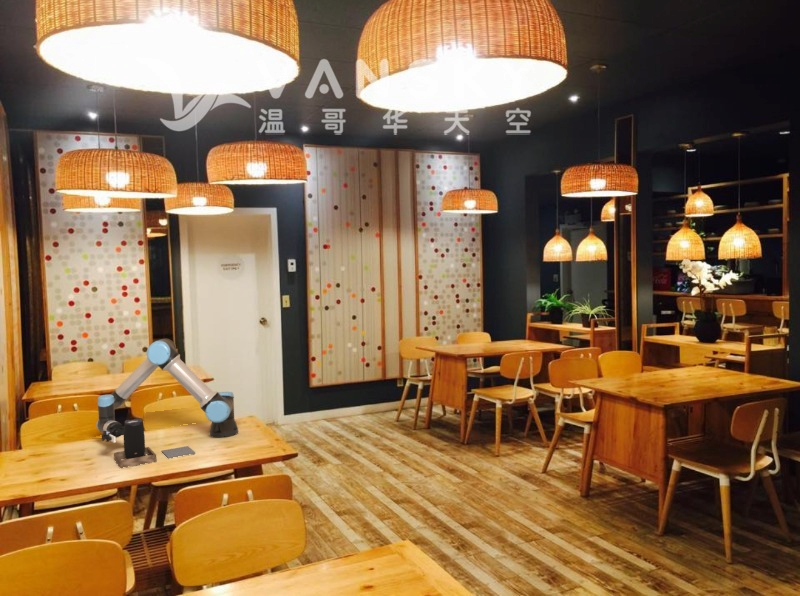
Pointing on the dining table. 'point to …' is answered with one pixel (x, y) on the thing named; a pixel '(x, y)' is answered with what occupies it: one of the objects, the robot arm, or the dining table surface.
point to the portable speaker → (134, 439)
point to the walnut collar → (135, 461)
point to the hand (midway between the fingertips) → (129, 436)
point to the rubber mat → (178, 452)
